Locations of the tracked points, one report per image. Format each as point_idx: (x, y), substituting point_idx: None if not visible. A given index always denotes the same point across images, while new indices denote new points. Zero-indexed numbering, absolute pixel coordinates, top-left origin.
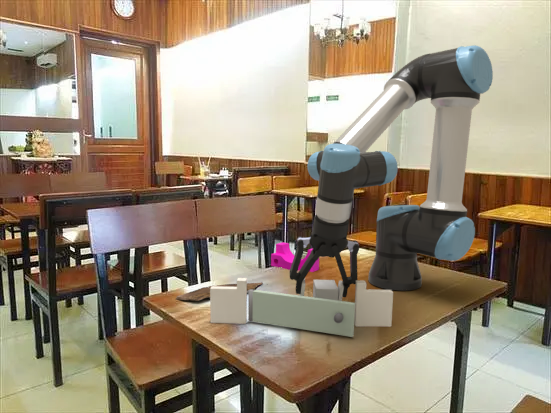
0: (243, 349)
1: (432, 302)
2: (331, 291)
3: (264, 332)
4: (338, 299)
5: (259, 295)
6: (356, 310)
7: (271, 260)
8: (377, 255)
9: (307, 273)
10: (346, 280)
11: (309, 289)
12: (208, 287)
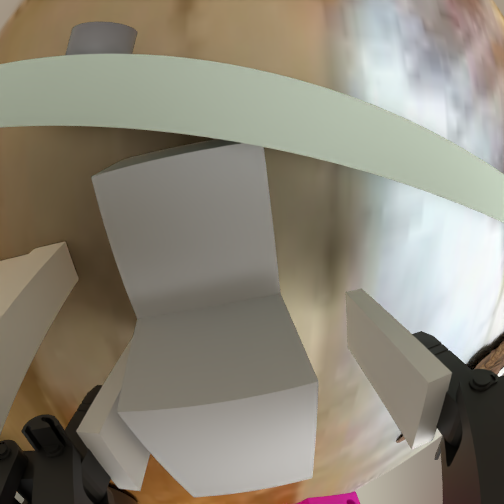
0: (474, 4)
1: None
2: (174, 392)
3: (454, 112)
4: None
5: None
6: (28, 280)
7: (358, 501)
8: None
9: (477, 460)
10: (45, 474)
11: None
12: (499, 369)
